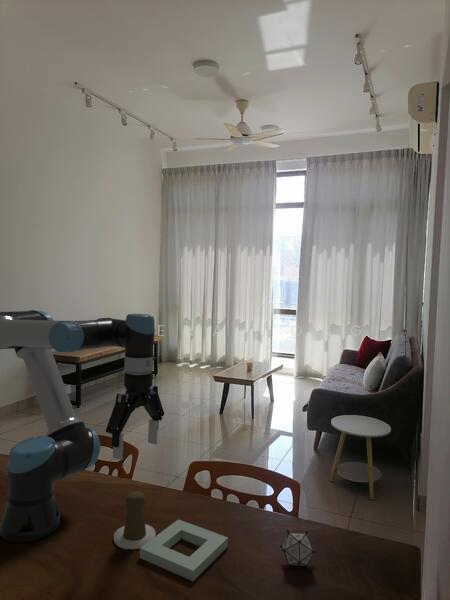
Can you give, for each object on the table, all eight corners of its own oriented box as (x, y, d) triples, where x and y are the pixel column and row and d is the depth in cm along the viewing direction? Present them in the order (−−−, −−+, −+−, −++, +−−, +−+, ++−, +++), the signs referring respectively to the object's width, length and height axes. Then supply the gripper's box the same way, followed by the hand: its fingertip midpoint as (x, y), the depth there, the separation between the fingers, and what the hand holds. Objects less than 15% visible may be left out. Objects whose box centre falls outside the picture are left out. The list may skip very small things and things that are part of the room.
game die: (300, 584, 107) (305, 568, 100) (271, 560, 111) (274, 543, 104) (318, 553, 112) (324, 536, 106) (290, 532, 116) (294, 514, 110)
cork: (140, 542, 114) (142, 500, 114) (119, 538, 115) (120, 497, 115) (149, 529, 120) (150, 490, 120) (128, 526, 121) (129, 487, 121)
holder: (139, 557, 109) (140, 547, 109) (178, 528, 123) (178, 519, 123) (193, 581, 101) (193, 570, 101) (227, 546, 115) (228, 537, 115)
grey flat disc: (104, 540, 116) (104, 537, 116) (133, 522, 125) (133, 519, 125) (136, 554, 110) (136, 551, 110) (163, 534, 120) (163, 531, 120)
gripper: (114, 382, 105) (111, 469, 105) (178, 367, 126) (175, 440, 127) (92, 377, 108) (90, 462, 109) (157, 363, 130) (155, 434, 131)
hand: (135, 450), depth 118 cm, fingers open, 13 cm apart
